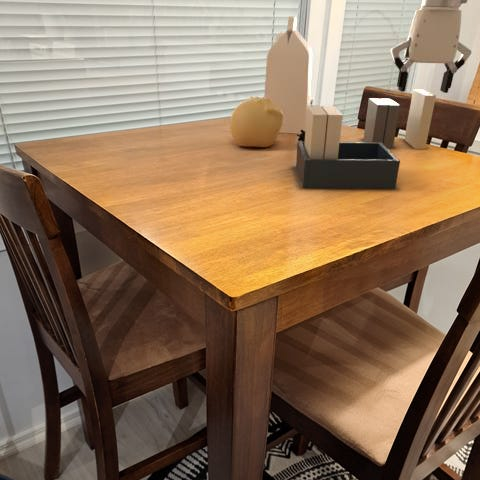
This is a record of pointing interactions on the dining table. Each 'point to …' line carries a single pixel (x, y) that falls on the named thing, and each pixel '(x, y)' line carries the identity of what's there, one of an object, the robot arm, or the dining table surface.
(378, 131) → the grey book
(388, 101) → the grey book
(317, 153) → the white book
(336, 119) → the white book
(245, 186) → the dining table surface
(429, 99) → the white book
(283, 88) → the milk
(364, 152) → the book box
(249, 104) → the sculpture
